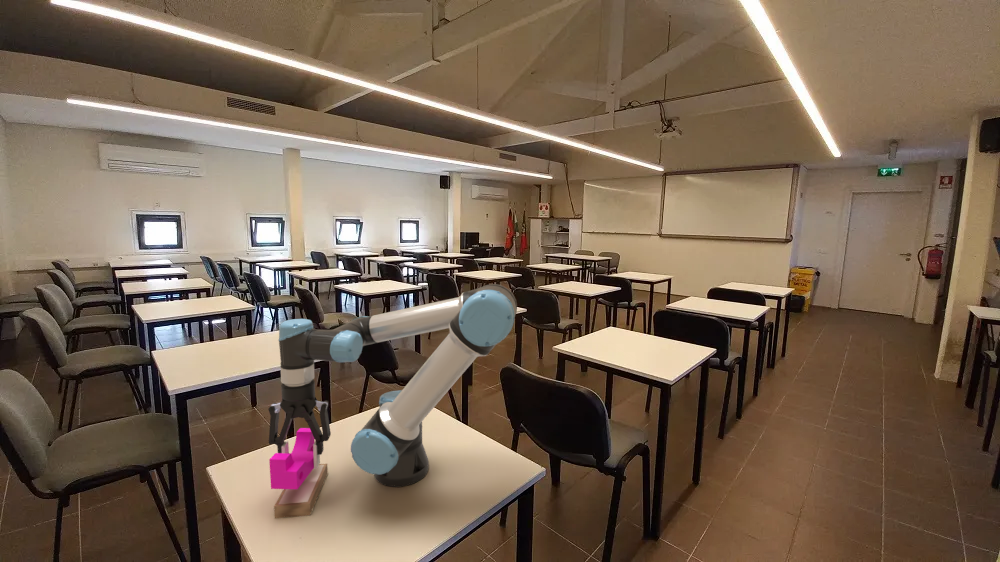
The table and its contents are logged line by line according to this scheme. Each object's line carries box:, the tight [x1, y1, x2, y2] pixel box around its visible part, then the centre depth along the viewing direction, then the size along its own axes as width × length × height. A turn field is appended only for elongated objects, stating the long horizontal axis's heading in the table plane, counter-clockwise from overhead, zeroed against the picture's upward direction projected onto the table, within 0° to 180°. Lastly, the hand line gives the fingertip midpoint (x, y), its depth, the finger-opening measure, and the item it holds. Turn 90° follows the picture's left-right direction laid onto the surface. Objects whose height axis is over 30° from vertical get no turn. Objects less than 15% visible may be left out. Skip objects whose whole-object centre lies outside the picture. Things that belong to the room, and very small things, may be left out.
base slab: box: [273, 463, 329, 519], centre depth 106 cm, size 8×17×3 cm, turn 10°
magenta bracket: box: [268, 427, 315, 490], centre depth 104 cm, size 15×6×8 cm, turn 0°
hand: (301, 466), depth 105 cm, fingers closed on magenta bracket, 7 cm apart
